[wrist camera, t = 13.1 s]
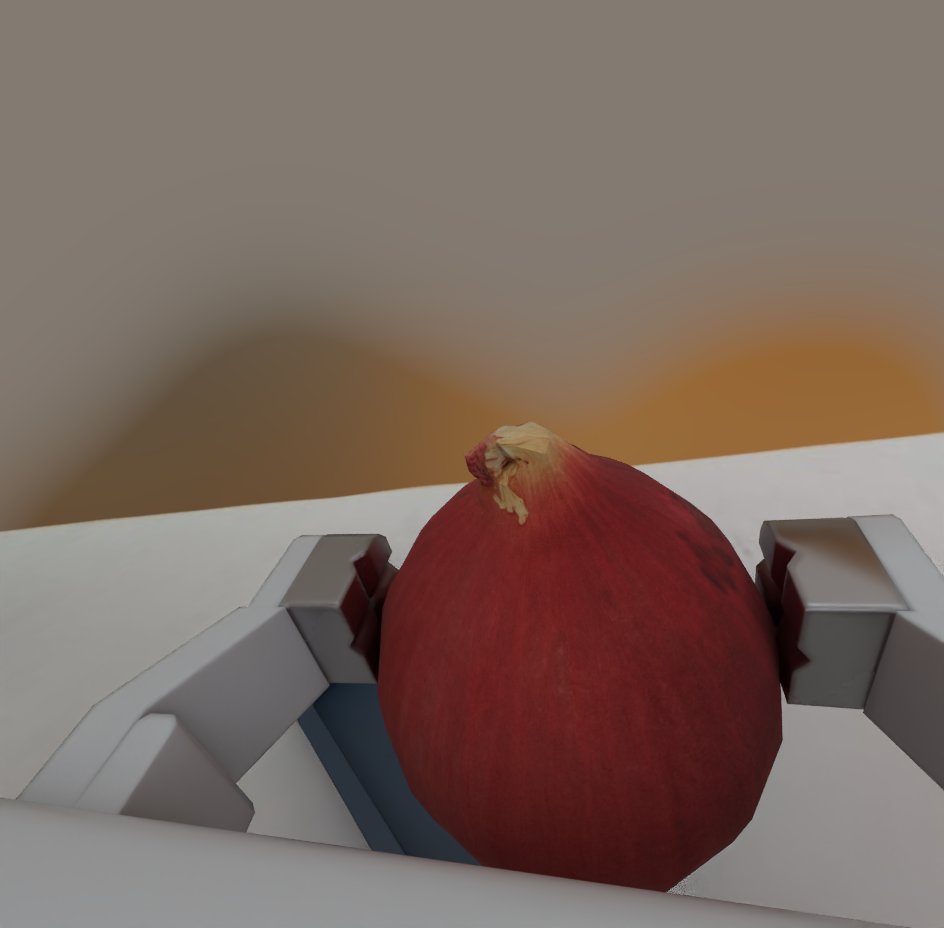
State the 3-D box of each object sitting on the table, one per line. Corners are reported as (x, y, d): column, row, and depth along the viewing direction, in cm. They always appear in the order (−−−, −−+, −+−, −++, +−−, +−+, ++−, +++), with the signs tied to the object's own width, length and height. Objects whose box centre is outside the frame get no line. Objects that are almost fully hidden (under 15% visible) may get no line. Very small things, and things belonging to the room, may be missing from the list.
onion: (550, 615, 14) (493, 315, 9) (803, 739, 10) (895, 338, 6) (385, 815, 10) (187, 493, 6) (669, 1108, 7) (658, 810, 3)
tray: (298, 713, 27) (268, 669, 25) (508, 553, 33) (497, 508, 31) (479, 1025, 16) (452, 990, 14) (736, 700, 22) (741, 646, 21)
